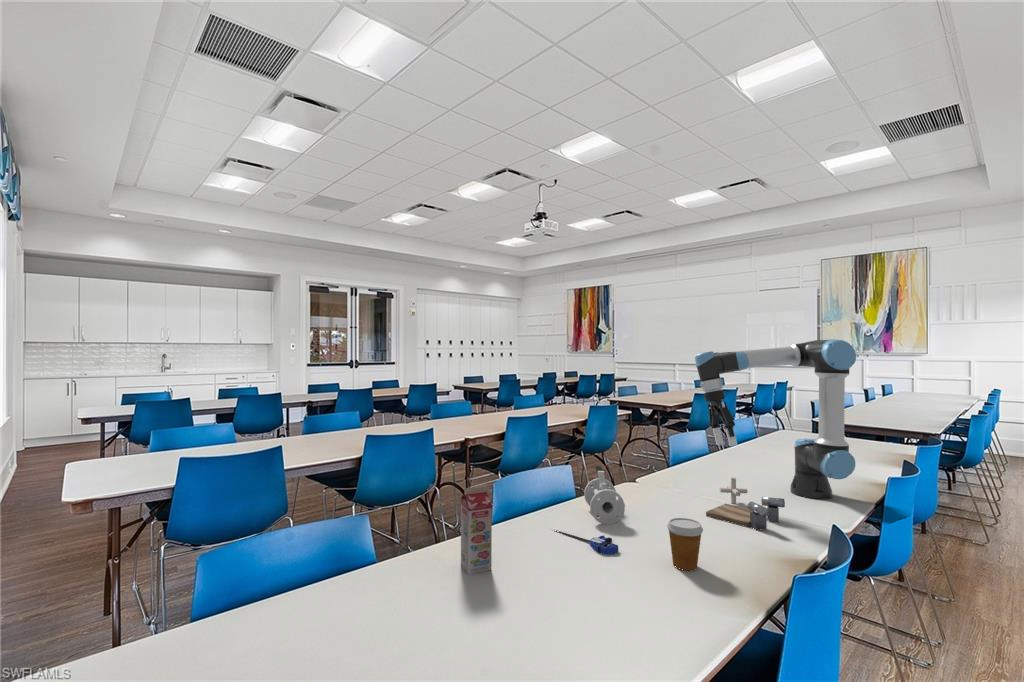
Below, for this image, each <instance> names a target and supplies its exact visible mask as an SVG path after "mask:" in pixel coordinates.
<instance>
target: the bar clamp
mask: <svg viewBox="0 0 1024 682" xmlns="http://www.w3.org/2000/svg"><path fill="white" fill-rule="evenodd" d="M555 530H556V532H555V533H558V532H557V531H559V530H557V529H555ZM561 533H562V534H561ZM558 534H561V535H564V534H565V535H564V536H567V535H568V536H567V537H570V536H571V537H570V538H573V537H574V539H577V540H579V541H580V540H581V541H583V542H584V541H585V542H587V543H589V546H590V547H591V548H592V550H593V551H595V552H596V553H597V552H598V553H597V554H601V553H602V554H601V555H616V554H617V552H618V553H619V545H618V544H615V543H612V542H613V538H612V537H610V536H609V537H605V535H600V536H598V537H592V538H590V539H587V538H583V537H579V536H577V535H573V534H571V533H566V532H564V531H559V533H558ZM615 553H616V554H615Z"/></svg>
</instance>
